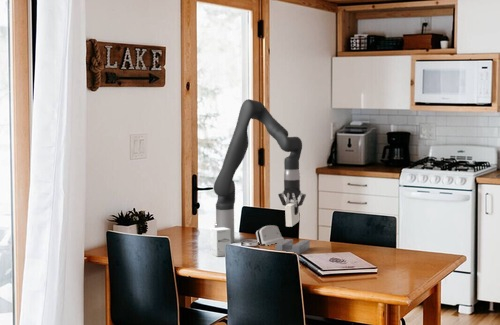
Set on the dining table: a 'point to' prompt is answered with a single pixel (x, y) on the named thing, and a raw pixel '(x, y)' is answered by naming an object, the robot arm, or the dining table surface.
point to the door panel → (291, 214)
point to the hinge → (269, 235)
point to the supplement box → (219, 240)
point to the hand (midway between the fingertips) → (292, 214)
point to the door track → (293, 246)
